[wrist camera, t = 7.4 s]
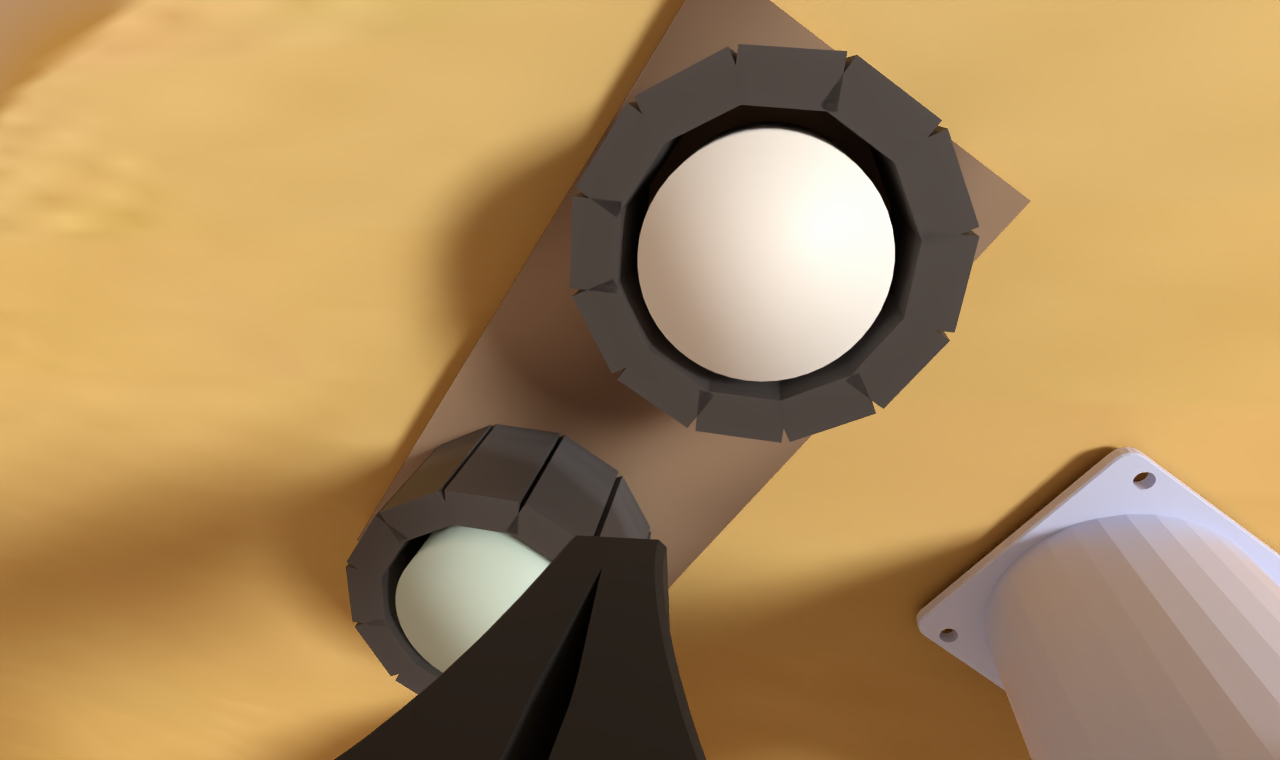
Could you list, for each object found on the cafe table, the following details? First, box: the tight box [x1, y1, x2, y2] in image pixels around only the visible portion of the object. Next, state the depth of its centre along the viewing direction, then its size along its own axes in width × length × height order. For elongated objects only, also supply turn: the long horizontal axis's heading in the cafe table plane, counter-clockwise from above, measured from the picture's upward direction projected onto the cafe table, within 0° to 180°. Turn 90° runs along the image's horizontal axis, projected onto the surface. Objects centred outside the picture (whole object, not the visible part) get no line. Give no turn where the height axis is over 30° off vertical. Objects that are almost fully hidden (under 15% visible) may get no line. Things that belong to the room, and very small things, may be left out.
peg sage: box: [396, 525, 552, 673], centre depth 20 cm, size 5×5×4 cm
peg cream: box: [638, 121, 895, 382], centre depth 16 cm, size 5×5×4 cm
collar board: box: [346, 0, 1030, 694], centre depth 19 cm, size 9×20×4 cm, turn 145°
